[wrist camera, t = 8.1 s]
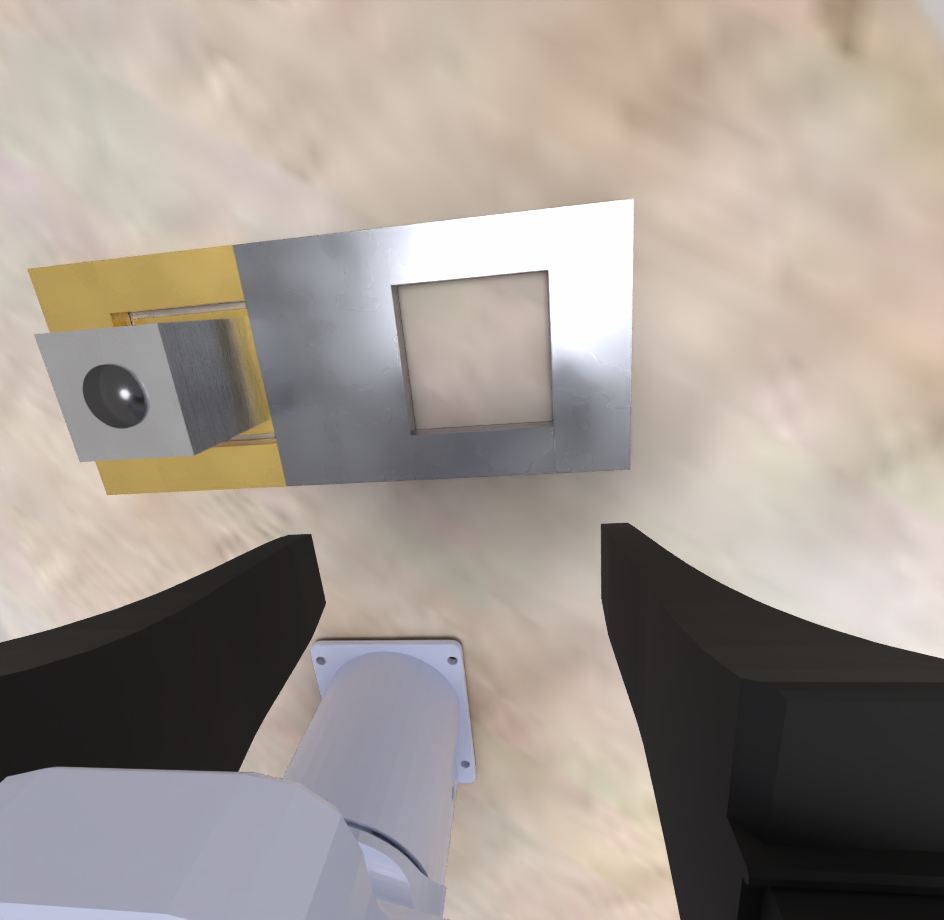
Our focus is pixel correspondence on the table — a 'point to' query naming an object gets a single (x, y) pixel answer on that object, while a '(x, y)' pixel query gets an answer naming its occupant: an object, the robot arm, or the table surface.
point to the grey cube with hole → (153, 387)
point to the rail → (378, 347)
